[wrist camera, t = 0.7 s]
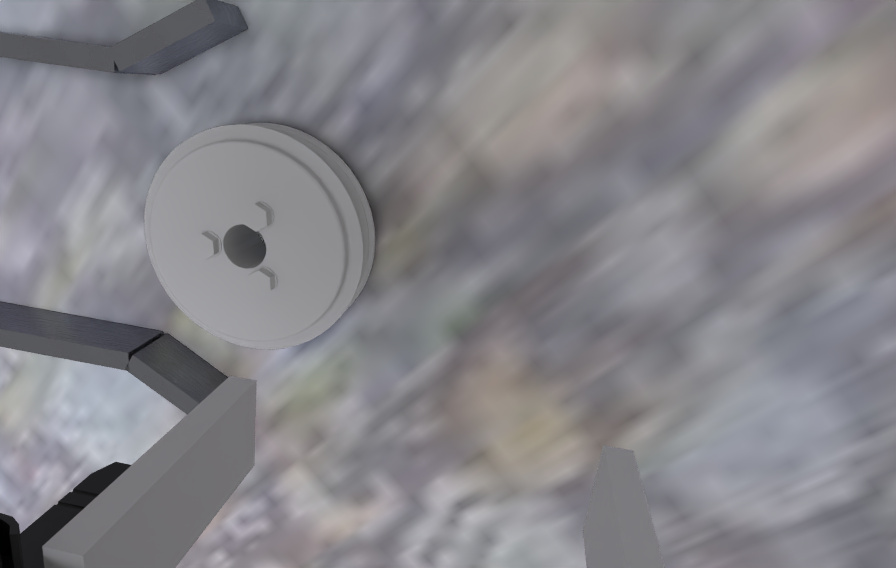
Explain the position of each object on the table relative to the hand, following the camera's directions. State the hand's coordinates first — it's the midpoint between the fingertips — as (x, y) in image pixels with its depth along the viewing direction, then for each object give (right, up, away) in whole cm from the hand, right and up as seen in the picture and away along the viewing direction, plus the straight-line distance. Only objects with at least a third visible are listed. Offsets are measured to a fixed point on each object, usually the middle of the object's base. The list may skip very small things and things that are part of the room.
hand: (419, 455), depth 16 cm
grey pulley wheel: (-10, +8, +20) cm, 24 cm away
